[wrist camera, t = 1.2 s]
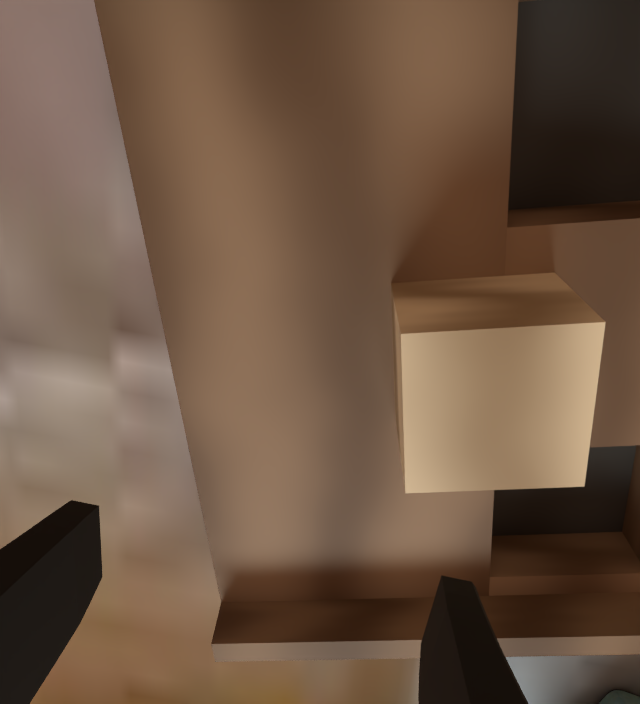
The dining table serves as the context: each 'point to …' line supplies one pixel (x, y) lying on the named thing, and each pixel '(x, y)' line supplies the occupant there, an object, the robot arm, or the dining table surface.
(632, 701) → the flower pot
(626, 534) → the walnut box
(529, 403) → the maple block
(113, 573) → the dining table surface
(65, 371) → the dining table surface
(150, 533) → the dining table surface
